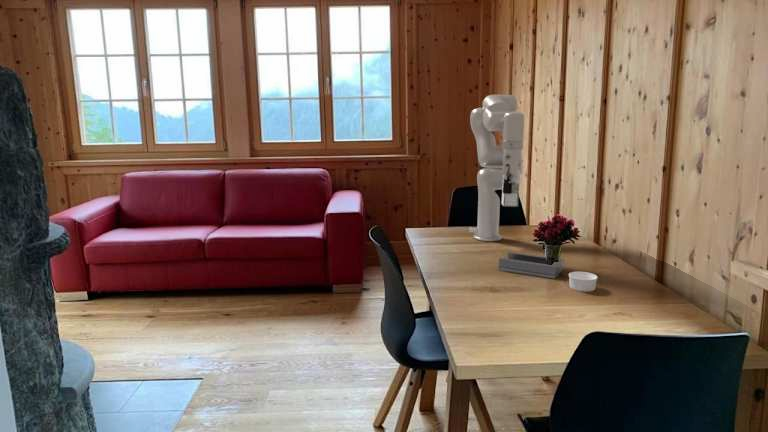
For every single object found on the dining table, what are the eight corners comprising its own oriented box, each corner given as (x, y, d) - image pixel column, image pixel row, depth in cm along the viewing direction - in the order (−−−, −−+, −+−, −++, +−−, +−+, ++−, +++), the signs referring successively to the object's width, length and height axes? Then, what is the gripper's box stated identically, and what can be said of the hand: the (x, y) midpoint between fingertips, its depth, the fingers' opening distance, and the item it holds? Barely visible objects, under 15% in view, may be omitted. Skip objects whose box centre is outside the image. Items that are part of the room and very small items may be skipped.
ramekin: (598, 293, 172) (600, 280, 172) (569, 291, 174) (570, 278, 173) (594, 284, 181) (595, 272, 180) (566, 283, 183) (567, 270, 182)
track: (498, 270, 197) (498, 259, 196) (509, 261, 208) (509, 251, 207) (554, 278, 187) (555, 267, 186) (562, 269, 198) (563, 258, 197)
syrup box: (516, 204, 212) (518, 167, 210) (518, 207, 206) (520, 169, 204) (501, 204, 213) (503, 167, 210) (503, 206, 207) (504, 168, 204)
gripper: (515, 147, 196) (513, 195, 199) (529, 144, 211) (526, 190, 214) (495, 146, 200) (493, 194, 203) (510, 144, 215) (507, 188, 218)
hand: (510, 191), depth 209 cm, fingers closed on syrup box, 7 cm apart
